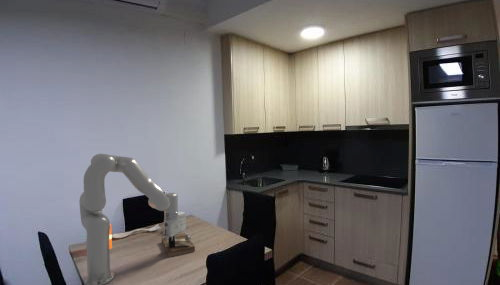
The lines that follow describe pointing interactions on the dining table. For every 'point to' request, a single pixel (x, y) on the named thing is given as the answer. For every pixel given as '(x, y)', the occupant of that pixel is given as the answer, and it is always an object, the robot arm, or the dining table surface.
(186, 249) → the wooden tray
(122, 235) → the cream wavy strip
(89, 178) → the robot arm
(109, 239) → the orange juice
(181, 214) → the supplement box
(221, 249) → the dining table surface
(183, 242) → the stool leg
